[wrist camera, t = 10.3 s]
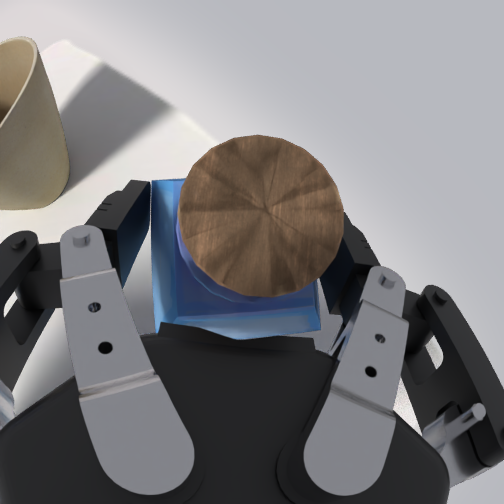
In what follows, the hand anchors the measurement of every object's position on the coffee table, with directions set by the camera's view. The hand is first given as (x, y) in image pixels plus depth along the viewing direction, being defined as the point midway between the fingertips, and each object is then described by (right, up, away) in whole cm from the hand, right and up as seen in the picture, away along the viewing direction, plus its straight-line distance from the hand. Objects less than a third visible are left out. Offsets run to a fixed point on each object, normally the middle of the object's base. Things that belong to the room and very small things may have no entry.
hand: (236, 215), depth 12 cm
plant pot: (-23, +7, +16) cm, 29 cm away
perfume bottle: (-1, -3, +6) cm, 6 cm away
